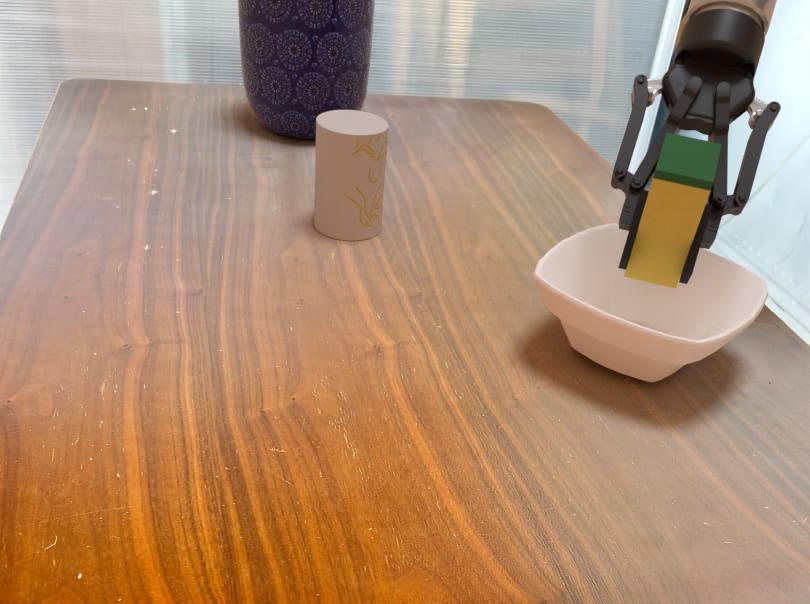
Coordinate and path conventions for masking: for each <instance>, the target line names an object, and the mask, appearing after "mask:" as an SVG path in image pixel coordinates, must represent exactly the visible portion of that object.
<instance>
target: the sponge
mask: <svg viewBox="0 0 810 604" xmlns="http://www.w3.org/2000/svg"><path fill="white" fill-rule="evenodd" d="M720 149H721V144H719V143H714V142H710V141H708V140H704V139H701V138H700V139H699V138H694V137H690V136H687V135H686V136H685V135H680V134H678V135H676V134H672V133H666V135H665V139H664V142H663V146H662V149H661V152H660V156H659V159H658V162H657V166H656V169H655V172H654V174H653V175H652V180H651V183H650V187H649V190H648V191H649V193H648V196H647V200H646V203H645V207H644V210H643V213H642V217H641V220H640V224H639V227H638V232H637V235H636V239H635V242H634V245H633V249H632V252H631V256H630V259H629V262H628V266H627V269H626V271H625V274H624V276H625V277H629V278H633V279H637V280H642V281H646V282H650V283H654V284H658V285H663V286H667V287H671V288H675V289H676V287H677V284H678V281H679V279H680V276H681V273H682V270H683V267H684V265H685V262H686V259H687V256H688V253H689V250H690V248H691V245H692V242H693V239H694V236H695V234H696V231H697V228H698V225H699V222H700V220H701V217H702V214H703V211H704V208H705V205H706V203H707V200H708V197H709V194H710V191H711V189H712V186H713V183H714V178H715V174H716V169H717V164H718V159H719V154H720Z"/></svg>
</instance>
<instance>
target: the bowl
mask: <svg viewBox="0 0 810 604" xmlns="http://www.w3.org/2000/svg"><path fill="white" fill-rule="evenodd" d="M618 223H619V222H612V223H606V224H600V225H596V226H595V225H594V226H593V227H589V228H587V229H585V230H581V231H579V232H577V233H574V234H573V235H571V236H568V237H567V238H564V239H563V240H560V242H558V243H556V245H554V246H553V247H552V248H550V249H549V250H548V251H547V252H546V253H545V254H544V255H543V256H542V257H541V258H540V259H539V260H538V261H537V262H536V265H535V268H534V271H533V273H532V280H533V283H534V285H535V288H536V290H537V292H538V294H539V297H540V298H541V299H540V300H541V301H542V304H543V305H544V306H543V307H545V309H547V310H548V312H550V313H551V314H552V315H554V316H556V317H557V318H558V319H559V321H560V323H561V326H562V328H563V330H564V333H565V335H566V337H567V340H568V342H569V345H570V346H571V348H572V349H574V350H575V351H576V352H578V353H579V354H581V355H583V356H584V357H586V358H588V359H589V360H591V361H592V362H594V363H597V364H598V365H601V367H605V368H607V369H609V370H611V371H614V372H617V373H619V374H622V375H625V376H627V377H631V378H634V379H637V380H641V381H643V382H648V383H655V382H659V381H661V380H664V379H665V378H667V377H669V376H671V375H673V374H675V373H676V372H678V371H679V370H680V369H682V368H683V367H685V365H690V364H693V363H696V362H699V361H701V360H703V359H705V358H707V357H708V356H710V355H712V354H714V353H715V352H717V351H718V350H720V349H721V348H722V347H724V346H725V345H726V344H727V343H729V342H730V341H731V340H733V339H734V338H735V337H737V336H738V335H740V334H741V333H742V332H743V331H744V330H746V329H747V328H748V327H750V326H751V325H752V324H753V323H754V321H756V319H757V317H759V315H760V313H761V312H762V310H763V308H764V305H765V304H766V301H767V300H768V297H769V294H768V283H767V279H765V278H763V277H762V276H760V275H759V274H757V273H755V272H754V271H752V270H751V269H749V268H747V267H745V266H744V265H741V264H740V263H737V262H735V261H733V260H730V259H729V258H726V257H725V256H721V255H720V254H717V253H714V252H712V251H710V250H708V249H705V248H703V249H702V248H700V249H699V252H698V256H697V259H696V263H695V266H694V270H693V273H692V275H691V277H690V279H689V281H688V283H687V284H684V283H680V282H679V281H678V284H677V287H676V289H675V288H671V287H667V286H663V285H658V284H654V283H650V282H646V281H642V280H637V279H633V278H629V277H625V276H624V274H625V271H626V270H624V269H620V268H618V267H619V264H620V260H621V257H622V253H623V250H624V246H625V243H626V240H627V236H628V233H629V231H627V230H622V229H619V224H618ZM680 277H681V276H680ZM679 280H680V279H679Z"/></svg>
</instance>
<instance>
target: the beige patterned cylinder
mask: <svg viewBox="0 0 810 604" xmlns="http://www.w3.org/2000/svg"><path fill="white" fill-rule="evenodd" d="M389 125H390V124H389V122H388V121H387V119H385V118H384V117H382V116H379V115H378V114H375V113H371V112H367V111H363V110H361V111H356V110H333V111H327V112H324V113H322V114H320V115H318V116H317V118H316V139H315V153H314V154H315V156H314V157H315V159H314V161H315V163H314V199H313V201H314V206H313V210H314V211H313V226H314V228H315V230H317V232H319V233H320V234H321V235H323V236H325V237H328V238H331V239H335V240H340V241H348V242H349V241H350V242H351V241H352V242H355V241H365V240H369V239H372V238H374V237H376V236H378V235H379V234H380V233H381V231H382V220H383V207H384V205H383V204H384V196H385V195H384V193H385V182H386V181H385V179H386V169H387V153H388V140H389V130H390V129H389V127H390V126H389Z"/></svg>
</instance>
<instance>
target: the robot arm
mask: <svg viewBox="0 0 810 604" xmlns="http://www.w3.org/2000/svg"><path fill="white" fill-rule="evenodd" d="M777 1H778V0H690V2H689V6H688V9H687V13H686V16H685V21H684V25H683V27H682V30H681V33H680V36H679V40H678V43H677V46H676V50H675V53H674V57H673V60H672V63H671V66H670V68H669V69H668V70H667V71H666V72H665V73H664V74H663V75H662V77H661V78H660V77H659V78H658V77H657V78H649V79H648V76H646V75H645V74H638V75H636V76H635V78H634V81H633V85H632V89H631V94H630V99H631V112H630V113H629V114H630V115H629V118H628V121H627V124H626V128H625V131H624V134H623V137H622V140H621V144H620V147H619V149H618V153H617V157H616V159H615V163H614V166H613V170H612V174H611V179H610V186H611V187H612V189H615V190H620V191H621V192H622V193H624V195H625V199H624V202H623V205H622V209H621V212H620V215H619V220H618V222H617V223H618V224H619V229H622V230H627V231H629V233H628V236H627V240H626V243H625V246H624V250H623V253H622V257H621V260H620V264H619V267H618V268H620V269H624V270H626V269H627V266H628V262H629V259H630V256H631V252H632V249H633V245H634V242H635V239H636V235H637V232H638V227H639V224H640V220H641V217H642V213H643V210H644V207H645V203H646V200H647V196H648V193H649V190H647V189H646V187H647V185H648V184H649V182H650V180H651V178H653V176H654V173H655V169H656V166H657V162H658V159H659V156H660V152H661V149H662V146H663V142H664V139H665V135H666V133H672V134H676V135H679V134H680V132H681V131H687V132H688V131H689V132H690V131H696V132H698V133H699V134H702V135H706V136H707V141H710V142H714V143H719V144H721V149H720V154H719V159H718V164H717V169H716V174H715V178H714V183H713V186H712V189H711V191H710V194H709V197H708V204H706V205H705V208H704V211H703V214H702V217H701V220H700V222H699V225H698V228H697V231H696V234H695V236H694V239H693V242H692V245H691V248H690V250H689V253H688V256H687V259H686V262H685V265H684V267H683V270H682V273H681V277H680V280H679V282H680V283H684V284H687V283H688V281H689V279H690V277H691V275H692V273H693V270H694V266H695V263H696V259H697V256H698V252H699V249H700V248H703V249H705V250H710V249H711V247H712V246H713V244H714V242H715V241H716V239H717V235H718V231H719V228H720V225H721V222H722V218H723V217H724V216H727V215H731V216H740V215H741V214H742V213H743V210H744V209H745V207H746V206H747V204H748V201H750V200H749V199H750V197H751V193H752V189H753V185H754V182H755V178H756V175H757V171H758V167H759V164H760V160H761V157H762V153H763V150H764V147H765V146H764V145H765V142H766V138H767V135H768V133H769V131H770V129H771V128H772V126H773V125H774V123H775V121H776V119H777V117H778V115H779V114H780V112H781V108H782V106H781V104H780V103H779V102H778V101H776V100H773V101H771V102H769V103H767V102H765V101H763V100H761V99H759V98H758V97H757V96H756V89H755V85H754V80H755V77H756V73H757V70H758V67H759V64H760V60H761V56H762V52H763V49H764V46H765V44H766V43H765V42H766V36H767V34H768V32H769V30H770V25H771V22H772V18H773V16H774V12H775V9H776V4H777ZM659 95H661V96H662V97H661V98H662V99H663V101H664V105H665V107H666V109H667V111H668V112H667V113H668V116H667V118H666V120H665V122H664V123H663V125H662V127H661V129H660V130H659V132H658V134H657V135H656V137H655V138H654V140H653V142H652V143H651V145H650V147H649V148H648V151H647V152H646V154H645V155H644V157H643V159H642V160H641V162H640V164H638V167H637V169H636V170H635V172H634V173H633V172H631V171H629V168H630V165H631V162H632V158H633V155H634V151H635V148H636V146H637V142H638V138H639V135H640V132H641V130H642V127H643V122H644V119H645V115H646V110H647V108H649V107H651V106H653V105H654V103H655V100H656V97H657V96H659ZM746 112H747V113H748V115H749V118H748V120H747V123H748V127H749V128H750V130H751V132H750V134H749V137H748V139H747V142H746V146H745V149H744V153H743V156H742V159H741V163H740V167H739V171H738V175H737V178H736V181H735V185H734V190H733V193H732V194H728V172H729V171H728V170H729V169H728V168H729V167H728V161H729V131H730V125H731V124H732V123H733V122H735V121H736V120H737V119H738V118H740V117H741V116H742V115H744V114H745V113H746Z"/></svg>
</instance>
